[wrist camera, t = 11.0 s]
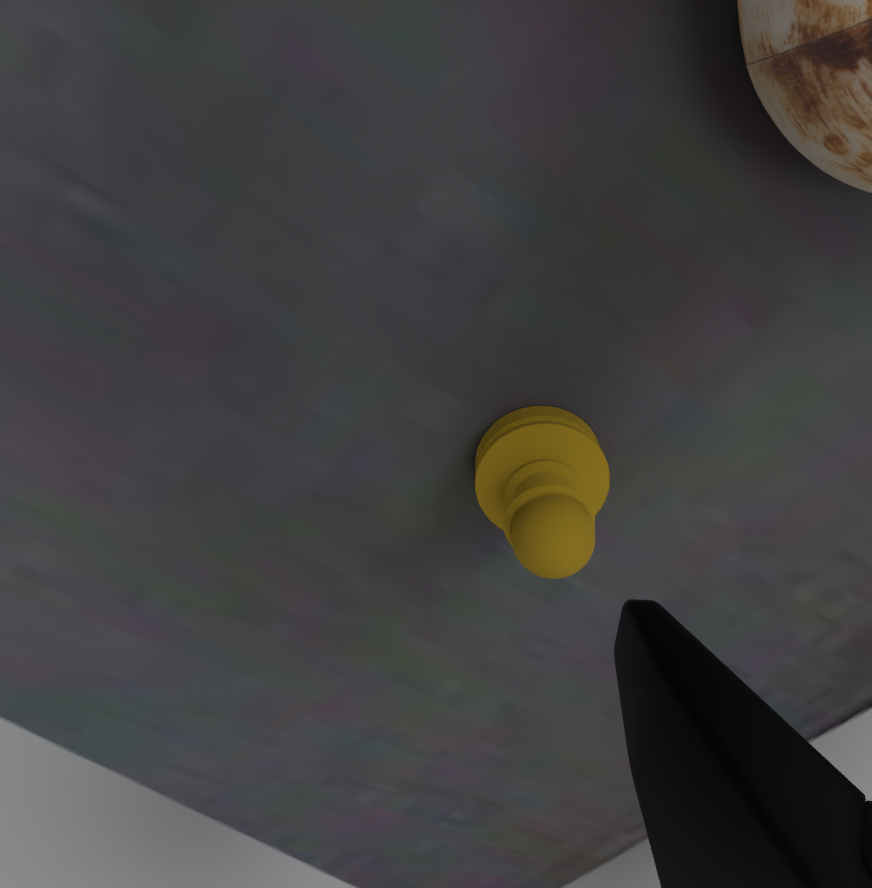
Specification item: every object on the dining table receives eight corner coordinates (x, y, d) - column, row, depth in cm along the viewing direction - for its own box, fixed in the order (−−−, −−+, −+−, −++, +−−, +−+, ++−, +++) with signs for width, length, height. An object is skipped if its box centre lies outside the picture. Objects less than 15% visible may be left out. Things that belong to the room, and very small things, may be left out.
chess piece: (622, 484, 21) (665, 587, 16) (510, 534, 22) (522, 643, 17) (568, 382, 19) (599, 465, 15) (451, 441, 20) (447, 535, 16)
